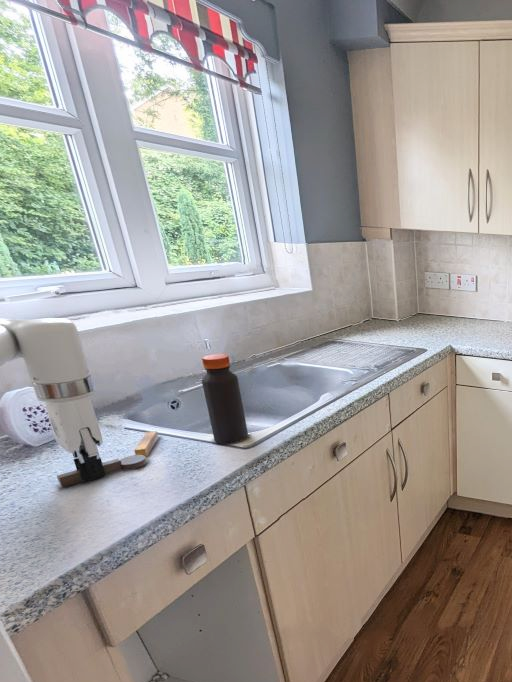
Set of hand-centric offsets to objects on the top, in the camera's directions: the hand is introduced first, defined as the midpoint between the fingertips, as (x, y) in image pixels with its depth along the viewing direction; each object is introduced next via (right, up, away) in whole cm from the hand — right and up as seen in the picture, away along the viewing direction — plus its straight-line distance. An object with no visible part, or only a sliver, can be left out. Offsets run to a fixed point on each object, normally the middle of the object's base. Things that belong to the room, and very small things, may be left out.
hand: (92, 476), depth 88 cm
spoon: (+1, 0, +2) cm, 2 cm away
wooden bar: (0, +4, +13) cm, 13 cm away
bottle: (+15, +6, +19) cm, 25 cm away
